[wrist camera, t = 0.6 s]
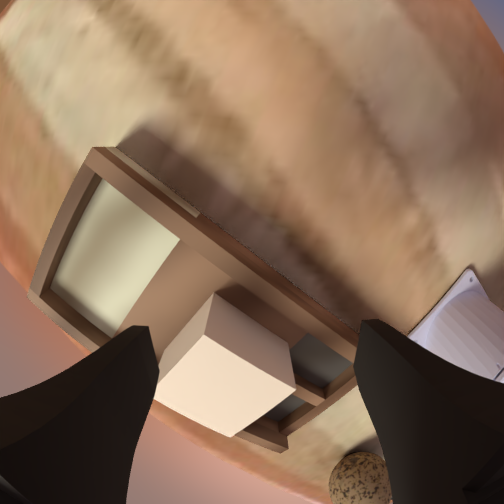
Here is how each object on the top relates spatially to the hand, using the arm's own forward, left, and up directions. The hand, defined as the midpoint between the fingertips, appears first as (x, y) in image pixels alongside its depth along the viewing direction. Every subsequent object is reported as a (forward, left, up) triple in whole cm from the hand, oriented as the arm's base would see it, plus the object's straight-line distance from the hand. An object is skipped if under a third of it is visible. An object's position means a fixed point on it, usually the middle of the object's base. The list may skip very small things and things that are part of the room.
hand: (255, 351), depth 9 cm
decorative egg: (-25, +12, -10) cm, 29 cm away
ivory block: (-2, +6, -8) cm, 10 cm away
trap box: (-1, +6, -10) cm, 11 cm away
